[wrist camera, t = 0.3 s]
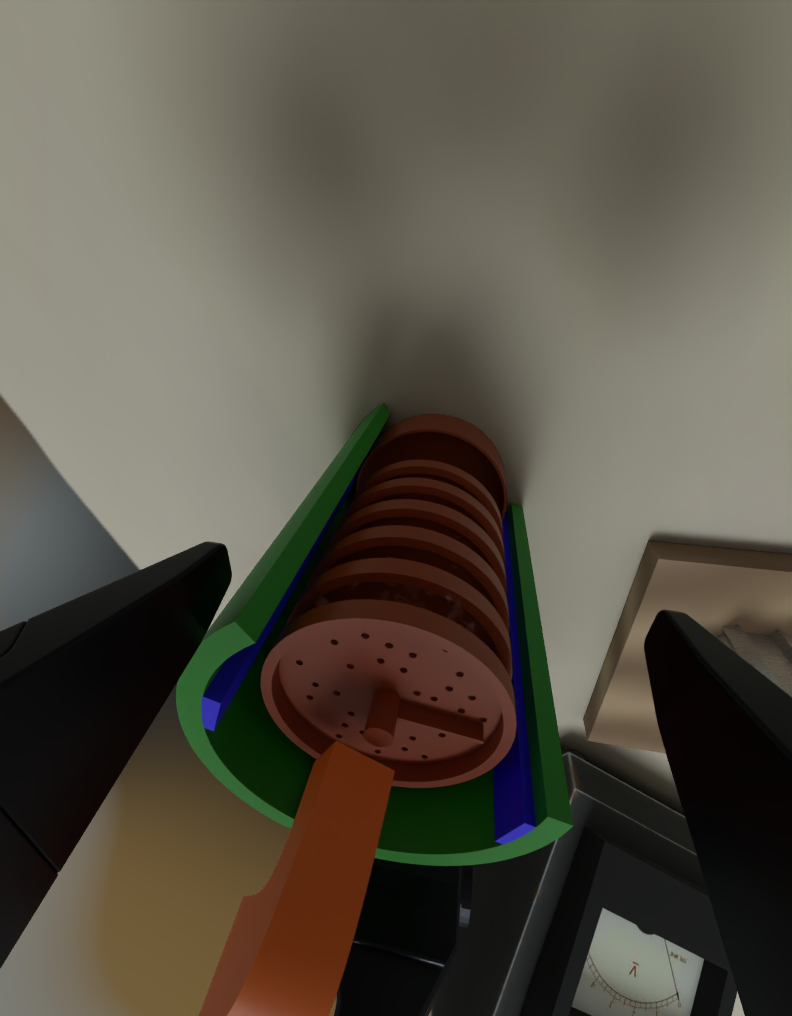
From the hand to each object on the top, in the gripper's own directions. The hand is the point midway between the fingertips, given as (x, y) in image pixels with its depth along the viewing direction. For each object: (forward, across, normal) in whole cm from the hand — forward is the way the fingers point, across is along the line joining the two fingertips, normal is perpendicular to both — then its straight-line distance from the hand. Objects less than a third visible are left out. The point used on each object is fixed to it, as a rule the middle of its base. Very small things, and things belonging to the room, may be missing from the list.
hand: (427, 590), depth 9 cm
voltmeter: (+15, -14, +36) cm, 41 cm away
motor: (+15, +1, +6) cm, 16 cm away
